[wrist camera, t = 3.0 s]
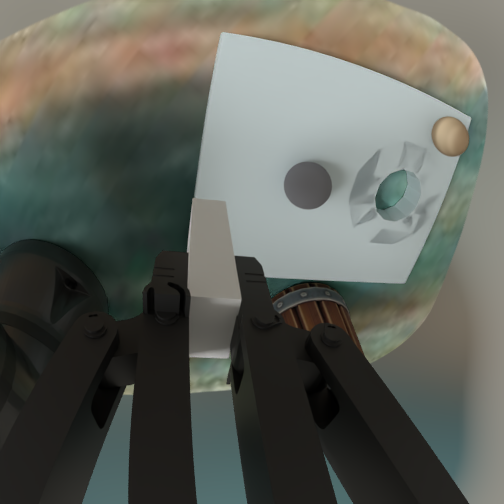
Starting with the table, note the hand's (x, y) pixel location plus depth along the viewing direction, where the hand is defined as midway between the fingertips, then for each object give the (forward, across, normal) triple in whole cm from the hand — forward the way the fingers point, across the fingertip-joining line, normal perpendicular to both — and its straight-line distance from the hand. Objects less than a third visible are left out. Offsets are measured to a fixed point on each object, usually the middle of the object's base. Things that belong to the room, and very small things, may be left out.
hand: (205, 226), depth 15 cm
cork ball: (+8, +20, +7) cm, 22 cm away
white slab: (+12, +12, 0) cm, 17 cm away
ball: (+8, +8, 0) cm, 11 cm away
